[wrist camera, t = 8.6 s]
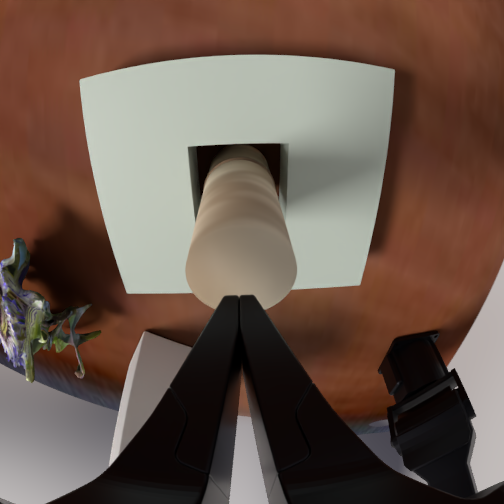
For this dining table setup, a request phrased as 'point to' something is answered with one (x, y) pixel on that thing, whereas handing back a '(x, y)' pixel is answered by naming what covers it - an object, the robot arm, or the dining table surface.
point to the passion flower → (32, 317)
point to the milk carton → (146, 385)
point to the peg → (240, 233)
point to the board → (239, 132)
